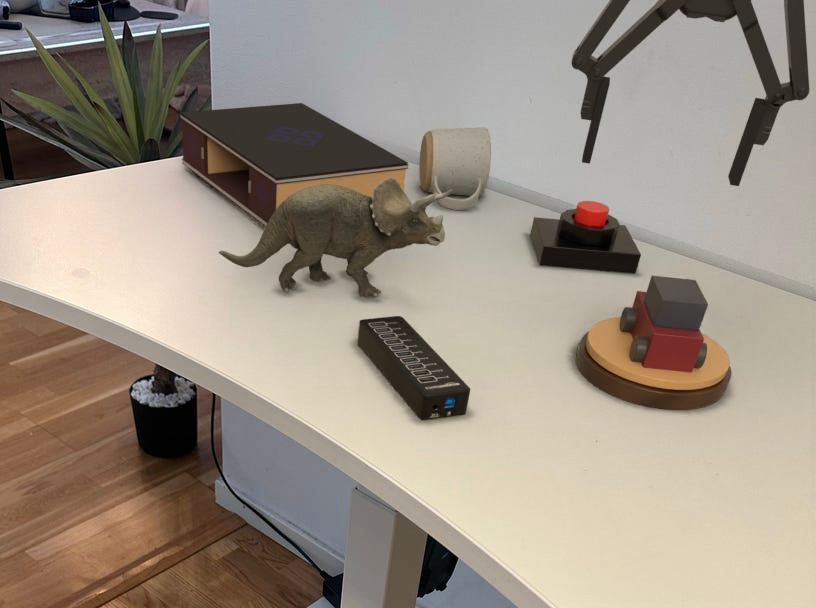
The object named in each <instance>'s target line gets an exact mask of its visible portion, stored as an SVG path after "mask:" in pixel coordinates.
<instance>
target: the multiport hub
mask: <svg viewBox="0 0 816 608" xmlns="http://www.w3.org/2000/svg"><path fill="white" fill-rule="evenodd" d="M358 323H359V324H358V335H357V346H358V348H360V350H362V352H363V354H365V355H366V356H367V358H368V359H369V360H370V361H371V363H372V364H373V365H374V366H375V367H376V369H377V370H378V371H379V372H380V373H381V374H382V376H383V378H385V379H386V380H387V382H389V385H391V386H392V388H393V389H394V391H396V392H397V394H398V395H399V396H400V397H401V398H402V400H403V401H404V402H405V403H406V405H407V406H408V407H409V408H410V409H411V410H412V411H413V413H414V414H415V415H416V416H417V418H418V419H419V420H421V421H430V420H431V421H432V420H437V419H443V418H445V419H446V418H453V417H458V416H464V415H466V414H467V409H468V405H469V400H470V394H471V387H469V385H468V384H467V383H466V382H465V381H464V380H463V378H461V376H459V375H458V374H457V373H456V371H454V370H453V368H452V367H451V366H450V365H449V364H448V363H447V362H446V361H445V360H444V359H443V358H442V357H441V356H440V354H438V352H436V351H435V350H434V348H433V347H432V346H431V345H430V344H429V343H428V342H427V341H426V340H425V339H424V338H423V337H422V336H421V335H420V333H418V332H417V331H416V329H414V327H413V326H412V325H411V324H410V323H409V322H408V321H407V320H406V319H405V317H403V316H402V315H401V316H400V315H394V316H383V317H375V318H365V319H360V320H359V322H358Z"/></svg>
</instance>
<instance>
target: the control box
mask: <svg viewBox="0 0 816 608" xmlns="http://www.w3.org/2000/svg"><path fill="white" fill-rule="evenodd" d="M575 212H576V208H570V209H566V210H564V211H563V212H562V213H560V216H559V218H558V219H557V218H547V217H538V216H537V217H536V216H534V217H533V220H532V224H531V228H530V234H529V238H530V241H531V244H532V247H533V249H534V252H535V256H536V259H537V262H538V266H541V267H542V266H543V267H552V268H553V267H554V268H565V269H575V270H586V271H587V270H588V271H598V272H609V273H622V274H631V275H632V274H633V275H635V274H636V273H637V271H638V270H637V269H638V267H639V263H640V260H641V257H642V254H641V252H640V249H639V248H638V246H637V244H636V243H635V240H634V239H633V237H632V235H631V233H630V231H629V229H628V228H627V226H626V224H620V222H619V221H618V219H617V218H615V217H614V216H612V215H610V214H609V213H608V217H607V220H606V224H605V225H604V226H590V225H585V224H582V223H578V222H577V221H575V220H574V216H575Z"/></svg>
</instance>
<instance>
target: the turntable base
mask: <svg viewBox="0 0 816 608" xmlns="http://www.w3.org/2000/svg"><path fill="white" fill-rule="evenodd" d="M588 332H589V330H588V331H587V332H586V333H584V334H583V336H582V337H581V339H580V341H579V346H578V348H577V352H576V355H575V363H576V367H577V368H578V371H579V372H580V373H581V375H582V376H583V377H584V378H585V379H586V380H587V381H588V382H589V383H590V384H592V385H593V386H595V387H597V388H598V389H599V390H601V391H603V392H606V394H609V395H611V396H613V397H616V398H618V399H620V400H623V401H626V402H629V403H633V404H635V405H639V406H644V407H649V408H653V409H654V408H655V409H661V410H675V411H676V410H677V411H679V410H683V411H684V410H695V409H701V408H705V407H707V406H710V405H712V404H715V403H716V402H718V401H719V400H720V399H722V398H723V396H724V395H725V393H726V391H727V388H728V385H729V383H730V380H731V378H732V373H733V371H732V367H731V364H730V365H729V368H728V371H727V373H726V375H725V377H724V378H723V379H722V380H721V381H720V382H718V383H717V384H715V385H712V386H710V387H706V388H701V389H694V390H673V389H664V388H657V387H652V386H647V385H644V384H640V383H637V382H633V381H630V380H628V379H625V378H623V377H620V376H618V375H616V374H614V373H612V372H610V371H608V370H607V369H605V368H604V367H602V366H601V365H599V364H598V363H597V362H596V361H595V360H594V359H593V358H592V357H591V356H590V354H589V353H588V351H587V348H586V339H587V335H588Z"/></svg>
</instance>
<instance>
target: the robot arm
mask: <svg viewBox="0 0 816 608" xmlns="http://www.w3.org/2000/svg"><path fill="white" fill-rule="evenodd" d="M630 2H631V0H609V1H608V2H607V3H606V5H605V7H604V8H603V10H602V11H601V12H600V14H598V17H597V18H596V20H595V21H594V22H593V24H592V26H590V28H589V29H588V31H587V33H586V34H585V35H584V36H583V38H582V40H581V41H580V43H579V44H578V45H577V47H576V48H575V50H574V52H573V53H572V57H571V67H572V68H573V69H574V70H578V71H579V72H581V73H583V74H584V75H585V76H586V79H587V82H586V86H585V90H584V95H583V99H582V103H581V108H580V119H581V120H585V121H590V124H589V127H588V131H587V136H586V139H585V144H584V148H583V152H582V158H581V163H582V164H589V165H590V164H591V161H592V157H593V153H594V149H595V145H596V141H597V137H598V132H599V128H600V124H601V120H602V117H603V114H604V108H605V105H606V100H607V96H608V92H609V88H610V83H611V77H609V76H606V75H607V74H608V73H609V72H610V71H611V70H612V69H614V68H615V67H616V66H617V65H618V64H619V63H620V62H621V61H623V60H624V58H626V56H627V57H628V55H629V54H630V53H631V52H633V50H634V49H636V47H638V46H639V45H640V44H641V43H642V42H643V41H644V40H645V39H646V38H648V37H649V36H650V35H651V34H652V33H653V32H655V31H656V29H657V28H658V27H660V26H661V25H662V24H663V23H664V22H666V21H668V19H670V18H671V17H672V16H673V15H674V14H676V13H677V12H678V11H680V13H681V14H682V15H683V16H685V17H686V18H687V19H688V18H689V19H695V20H696V19H701V18H707V19H710V20H711V21H713V22H717V23H725V21H729V20H732V19H734V18H735V17H736V16H737V20H738V23H739V25H740V28H741V31H742V33H743V36H744V38H745V41H746V43H747V47H748V49H749V51H750V55H751V57H752V60H753V62H754V66H755V68H756V71H757V73H758V76H759V79H760V82H761V84H762V87H763V90H764V93H765V97H764V98H760V97H755V98H754V101H753V104H752V106H751V109H750V112H749V116H748V118H747V121H746V123H745V127H744V129H743V133H742V134H741V138H740V140H739V143H738V146H737V150H736V152H735V155H734V158H733V161H732V164H731V167H730V169H729V172H728V175H727V178H728V180H729V185H730V186H734V187H739V186H740V184H741V181H742V178H743V175H744V173H745V170H746V168H747V165H748V161H749V159H750V157H751V153H752V151H753V148H754V145H758V146H765V144H766V143H767V142H768V141H769V138H770V135H771V133H772V130H773V128H774V124H775V122H776V120H777V116H778V113H779V111H780V109H781V108H782V106H784V104H786V103H789V102H792V101H793V102H794V101H804V100H805V99H807V97H808V96H809V94H810V77H809V62H808V61H809V59H808V46H807V31H806V30H807V29H806V17H805V16H806V15H805V13H806V12H805V0H783V9H784V23H785V24H784V25H785V35H786V36H785V37H786V50H787V60H788V61H787V63H788V75H789V81H787V82H782V83H781V81H780V77H779V76H778V73H777V70H776V66H775V65H774V62H773V58H772V56H771V54H770V50H769V48H768V45H767V42H766V39H765V37H764V33H763V31H762V28H761V25H760V22H759V20H758V17H757V13H756V11H755V8H754V5H753V3H752V0H657V1H656V2H655V3H654V5H652V7H650V9H648V10H647V11H646V12H645V13H644V14H643V15H642V16H641V17H639V19H637V21H635V23H633V24H632V25H631V26H630V27H629V28H627V30H626V31H624V33H622V35H620V36H619V37H618V38H617V39H616V40H615V41H614V42H613V43H612V44H611V45H610V46H608V47H607V48H606V49H605V50H604V51H603V52H602V53H600V55H599V56H598V57H595V56H594V55H593V53H595V51H596V50H597V48H598V47H599V45H600V44H601V43H602V41H603V40H604V38H605V37H606V35H607V34H608V32H609V31H610V29H612V27H613V25H614V24H615V23H616V21H617V20H618V18H619V17H620V15H621V14H622V12H623V11H624V10H625V8H626V7H627V5H628V4H629V3H630Z"/></svg>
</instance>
